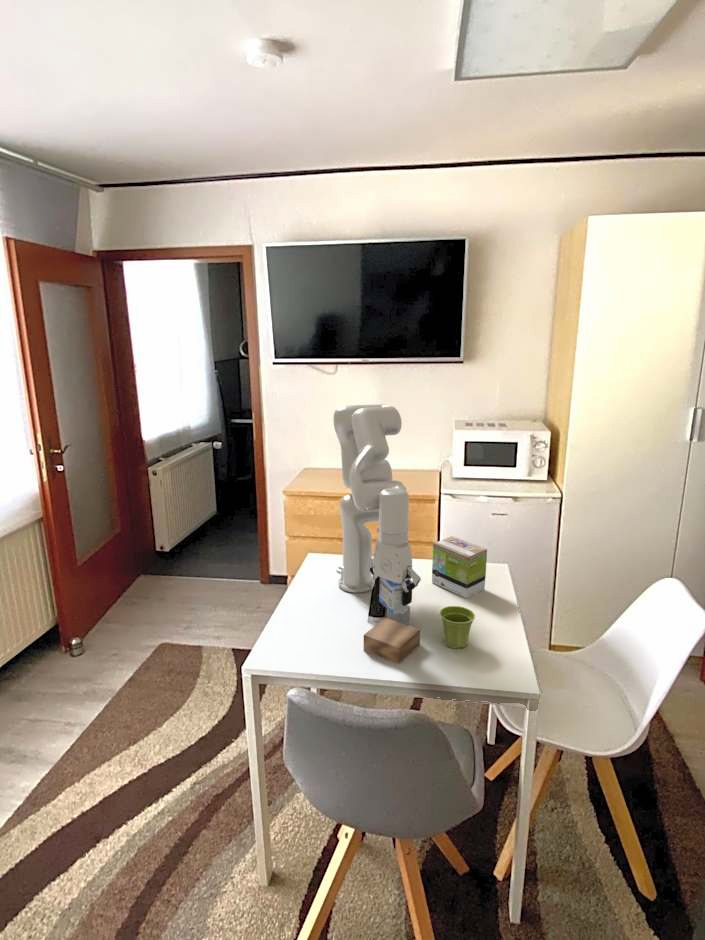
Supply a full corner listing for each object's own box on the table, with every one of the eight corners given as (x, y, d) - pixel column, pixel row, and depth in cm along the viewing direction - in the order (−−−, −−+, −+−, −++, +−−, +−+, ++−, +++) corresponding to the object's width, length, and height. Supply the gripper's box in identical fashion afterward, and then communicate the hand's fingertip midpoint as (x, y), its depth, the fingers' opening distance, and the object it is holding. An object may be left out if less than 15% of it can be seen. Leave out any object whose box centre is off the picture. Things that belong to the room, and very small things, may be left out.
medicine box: (378, 602, 154) (378, 572, 152) (393, 598, 156) (393, 569, 154) (393, 615, 147) (393, 584, 145) (408, 611, 149) (408, 580, 147)
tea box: (430, 583, 192) (431, 542, 189) (450, 575, 199) (451, 535, 195) (466, 599, 181) (468, 556, 177) (485, 590, 187) (488, 547, 184)
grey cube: (386, 625, 166) (386, 609, 165) (393, 617, 170) (394, 602, 169) (402, 629, 164) (402, 613, 162) (409, 621, 168) (409, 606, 167)
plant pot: (446, 630, 163) (447, 602, 161) (478, 639, 158) (479, 610, 156) (433, 646, 155) (434, 617, 153) (466, 655, 151) (467, 626, 149)
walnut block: (363, 651, 153) (363, 634, 152) (385, 633, 162) (385, 617, 161) (399, 665, 147) (399, 647, 146) (419, 645, 156) (420, 629, 155)
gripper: (358, 532, 150) (359, 592, 154) (410, 549, 138) (409, 614, 142) (378, 525, 155) (377, 583, 159) (429, 541, 143) (427, 603, 148)
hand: (392, 598), depth 151 cm, fingers closed on medicine box, 9 cm apart
